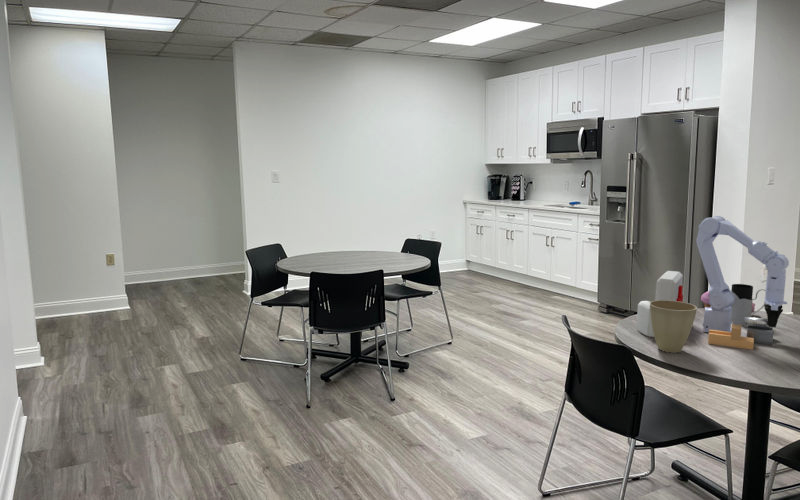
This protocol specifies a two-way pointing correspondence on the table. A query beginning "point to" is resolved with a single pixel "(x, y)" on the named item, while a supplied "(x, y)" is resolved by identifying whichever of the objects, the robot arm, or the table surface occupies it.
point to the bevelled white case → (669, 287)
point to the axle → (756, 322)
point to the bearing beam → (730, 338)
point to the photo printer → (644, 319)
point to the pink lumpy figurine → (753, 308)
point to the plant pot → (671, 323)
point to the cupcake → (706, 300)
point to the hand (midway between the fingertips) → (771, 325)
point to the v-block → (760, 334)
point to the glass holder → (742, 303)
